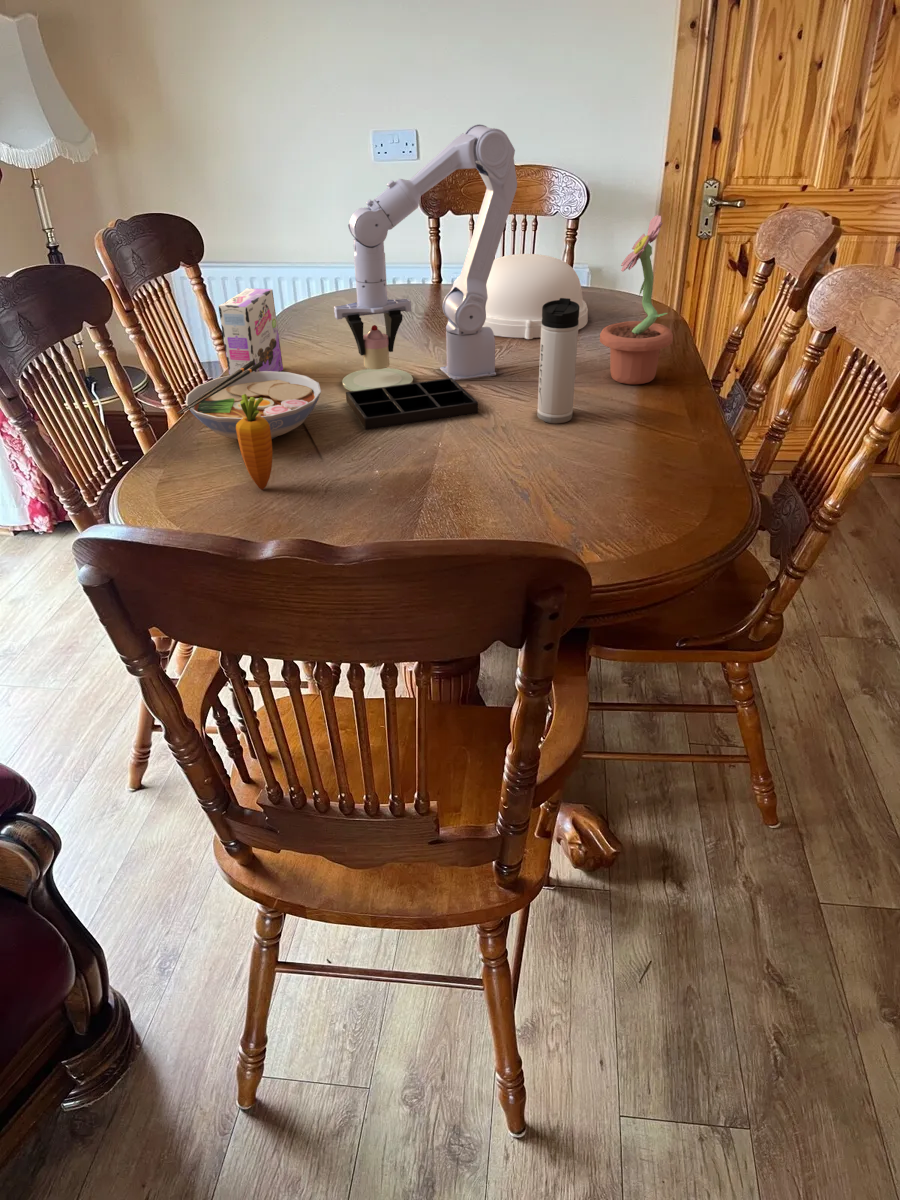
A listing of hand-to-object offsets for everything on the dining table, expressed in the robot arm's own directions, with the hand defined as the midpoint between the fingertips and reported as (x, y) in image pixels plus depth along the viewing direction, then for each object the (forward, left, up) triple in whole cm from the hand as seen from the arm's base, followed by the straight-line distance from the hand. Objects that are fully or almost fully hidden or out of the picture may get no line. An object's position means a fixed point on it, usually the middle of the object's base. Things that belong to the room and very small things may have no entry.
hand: (375, 352), depth 163 cm
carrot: (+29, +39, -6) cm, 49 cm away
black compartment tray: (-2, +16, -6) cm, 17 cm away
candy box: (+22, -11, -6) cm, 25 cm away
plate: (0, 0, -6) cm, 6 cm away
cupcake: (0, 0, -3) cm, 3 cm away
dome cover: (-45, -30, -6) cm, 54 cm away
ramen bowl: (+26, +17, -6) cm, 32 cm away
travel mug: (-25, +29, -6) cm, 39 cm away
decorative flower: (-48, +16, -6) cm, 51 cm away
